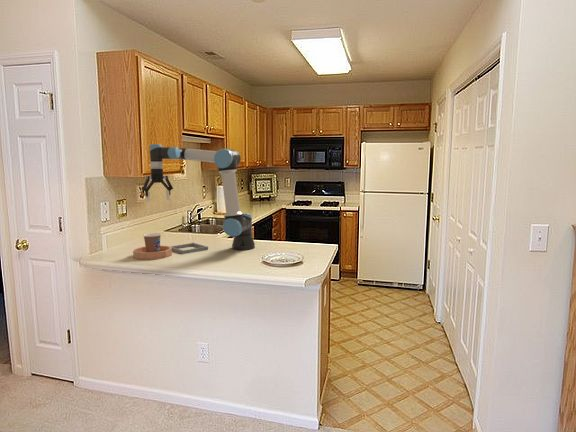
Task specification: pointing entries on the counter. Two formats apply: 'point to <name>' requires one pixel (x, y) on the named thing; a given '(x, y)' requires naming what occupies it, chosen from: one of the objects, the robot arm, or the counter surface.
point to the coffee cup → (152, 242)
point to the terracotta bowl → (152, 253)
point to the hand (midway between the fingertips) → (158, 200)
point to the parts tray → (200, 248)
